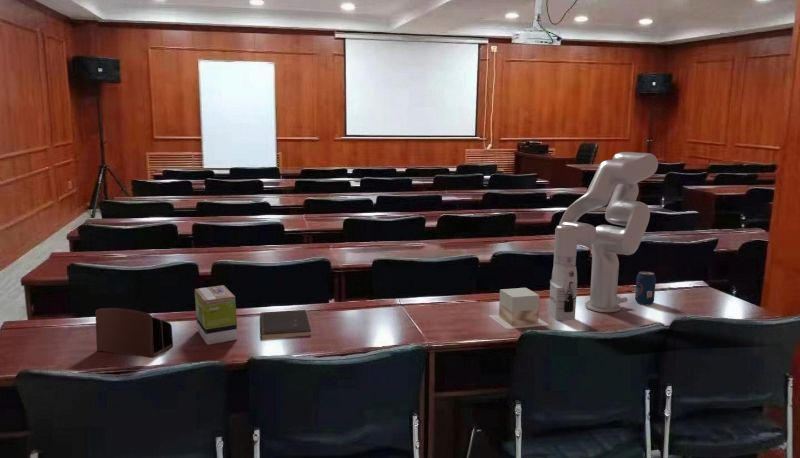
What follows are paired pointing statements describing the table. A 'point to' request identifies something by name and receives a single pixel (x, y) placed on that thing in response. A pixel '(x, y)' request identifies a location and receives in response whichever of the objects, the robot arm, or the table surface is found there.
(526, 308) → the upper block
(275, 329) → the hardcover book
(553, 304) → the supplement box
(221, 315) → the tea box
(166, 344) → the letter holder
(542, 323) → the base board
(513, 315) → the lower block
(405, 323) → the table surface
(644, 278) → the soda can
